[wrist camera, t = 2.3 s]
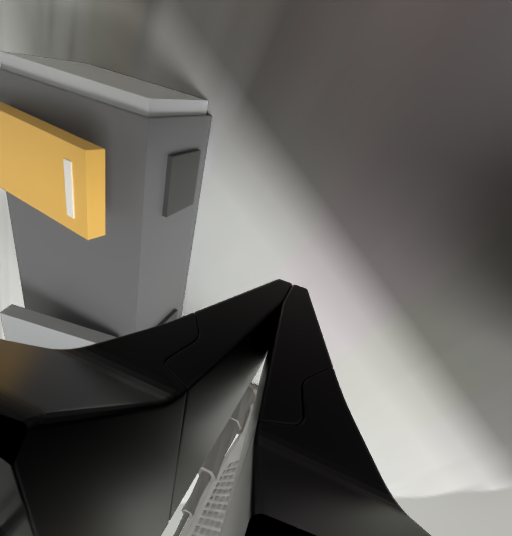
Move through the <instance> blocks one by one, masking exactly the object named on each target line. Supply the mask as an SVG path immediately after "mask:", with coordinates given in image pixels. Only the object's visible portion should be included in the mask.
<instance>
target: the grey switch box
mask: <svg viewBox="0 0 512 536" xmlns="http://www.w3.org/2000/svg"><path fill="white" fill-rule="evenodd" d="M0 64H1V67H0V102H3V103H5V104H7V105H9V106H12V107H14V108H16V109H18V110H20V111H23V112H25V113H27V114H29V115H31V116H34V117H36V118H38V119H40V120H42V121H45V122H47V123H49V124H51V125H53V126H56V127H58V128H60V129H62V130H64V131H66V132H69V133H71V134H73V135H75V136H77V137H80V138H82V139H84V140H86V141H88V142H91V143H93V144H95V145H97V146H99V147H102V148H104V149H105V235H103V236H100V237H97V238H94V239H90V240H87V239H85V238H83V237H82V236H80V235H79V234H77V233H75V232H74V231H72V230H70V229H69V228H67V227H65V226H64V225H62V224H60V223H59V222H57V221H55V220H54V219H52V218H50V217H49V216H47V215H45V214H44V213H42V212H40V211H39V210H37V209H35V208H34V207H32V206H30V205H29V204H27V203H26V202H24V201H22V200H21V199H19V198H17V197H16V196H14V195H12V194H11V193H9V192H7V191H6V194H7V200H8V206H9V212H10V218H11V224H12V231H13V237H14V243H15V249H16V255H17V261H18V268H19V274H20V280H21V286H22V292H23V298H24V305H25V309H28V310H32V311H35V312H38V313H41V314H44V315H48V316H51V317H54V318H57V319H60V320H63V321H67V322H70V323H73V324H76V325H79V326H83V327H86V328H89V329H92V330H95V331H99V332H102V333H105V334H108V335H111V336H114V337H120V336H124V335H127V334H131V333H135V332H138V331H142V330H145V329H148V328H151V327H155V326H158V325H161V324H164V323H167V322H170V321H173V320H175V319H178V318H181V314H182V308H183V301H184V295H185V288H186V282H187V275H188V269H189V262H190V256H191V249H192V243H193V236H194V229H195V223H196V216H197V210H198V203H199V197H200V190H201V184H202V177H203V171H204V164H205V158H206V151H207V145H208V138H209V132H210V125H211V119H212V116H210V115H207V114H206V113H207V106H208V100H205V99H201V98H198V97H195V96H192V95H188V94H185V93H182V92H178V91H175V90H172V89H169V88H165V87H162V86H159V85H156V84H152V83H149V82H146V81H142V80H139V79H136V78H133V77H129V76H126V75H123V74H120V73H116V72H113V71H110V70H107V69H103V68H100V67H97V66H93V65H90V64H86V63H79V62H72V61H65V60H58V59H52V58H45V57H38V56H31V55H24V54H17V53H10V52H3V51H0Z"/></svg>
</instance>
